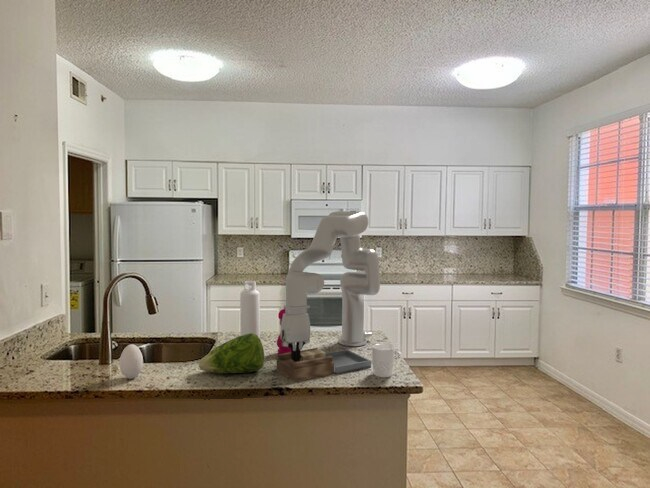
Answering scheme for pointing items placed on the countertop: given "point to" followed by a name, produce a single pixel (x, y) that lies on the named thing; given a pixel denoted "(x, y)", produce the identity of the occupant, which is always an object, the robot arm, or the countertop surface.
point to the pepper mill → (279, 342)
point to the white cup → (383, 359)
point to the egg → (131, 361)
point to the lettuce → (235, 356)
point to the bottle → (250, 309)
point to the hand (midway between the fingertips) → (295, 360)
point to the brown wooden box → (304, 366)
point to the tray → (348, 361)
